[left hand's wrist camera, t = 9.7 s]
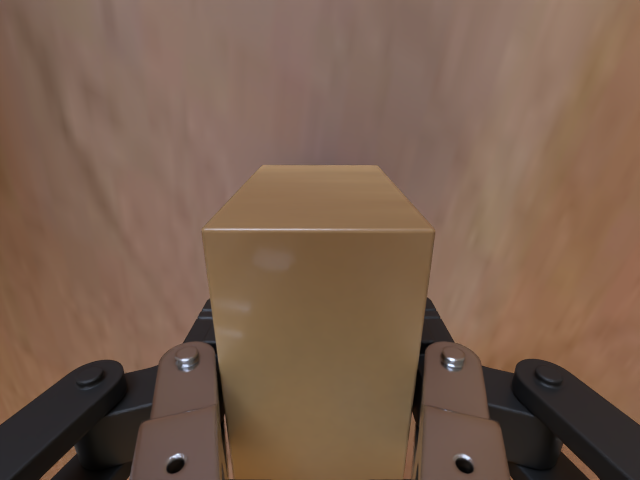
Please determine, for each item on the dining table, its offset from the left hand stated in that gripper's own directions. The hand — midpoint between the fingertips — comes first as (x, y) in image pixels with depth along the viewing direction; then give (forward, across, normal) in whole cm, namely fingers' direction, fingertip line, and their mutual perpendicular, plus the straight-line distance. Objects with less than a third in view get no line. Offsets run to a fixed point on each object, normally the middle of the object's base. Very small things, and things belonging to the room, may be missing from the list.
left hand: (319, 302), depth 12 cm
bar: (+3, 0, -22) cm, 22 cm away
